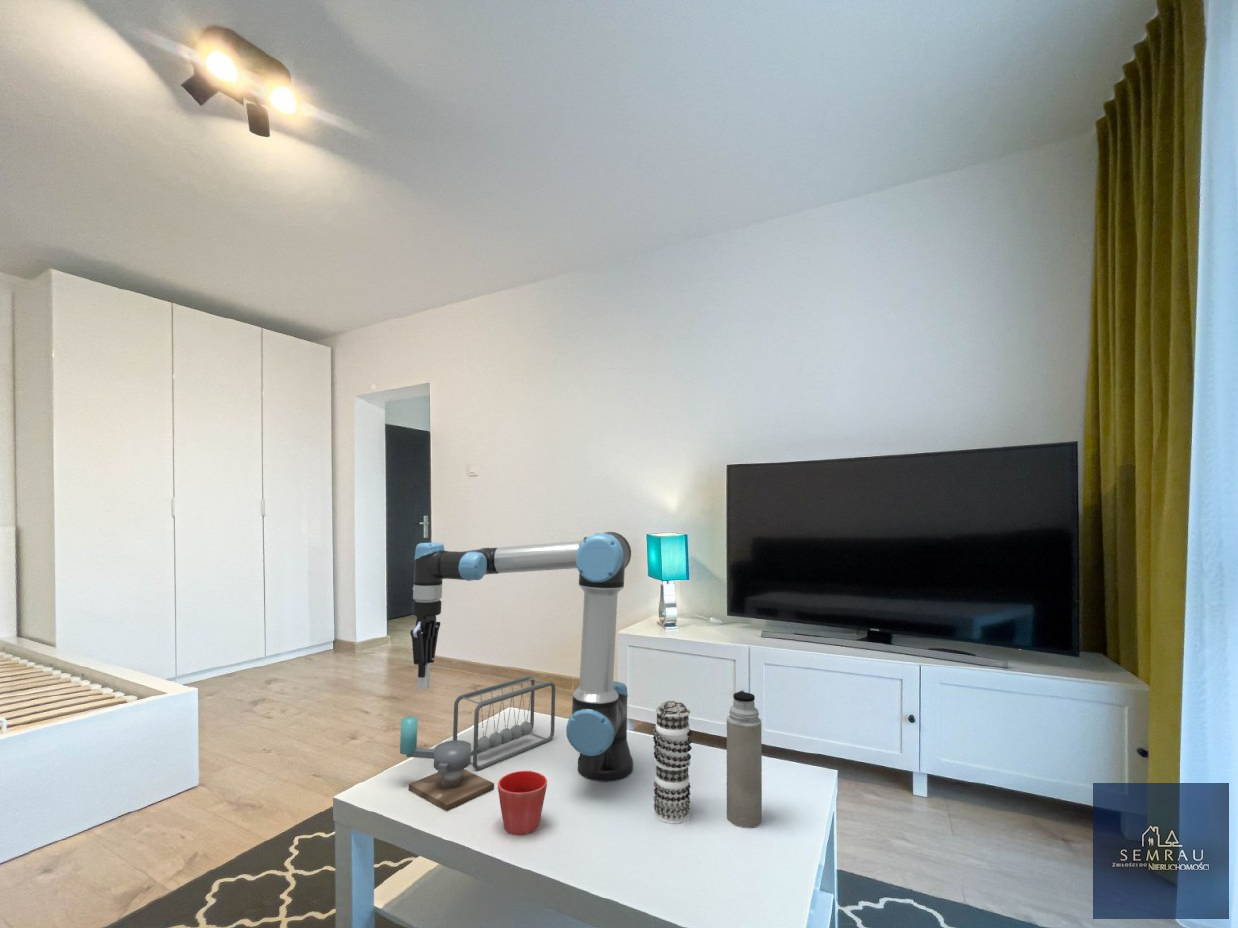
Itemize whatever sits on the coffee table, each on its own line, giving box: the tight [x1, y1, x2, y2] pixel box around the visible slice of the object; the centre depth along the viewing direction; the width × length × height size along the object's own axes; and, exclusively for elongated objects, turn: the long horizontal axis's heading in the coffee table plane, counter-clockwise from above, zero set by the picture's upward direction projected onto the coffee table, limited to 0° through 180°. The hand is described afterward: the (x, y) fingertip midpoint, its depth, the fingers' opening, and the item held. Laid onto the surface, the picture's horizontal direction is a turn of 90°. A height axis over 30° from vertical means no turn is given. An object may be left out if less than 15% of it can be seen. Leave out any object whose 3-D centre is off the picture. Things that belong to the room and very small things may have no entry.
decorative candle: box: [652, 700, 693, 825], centre depth 137 cm, size 9×9×25 cm
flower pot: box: [497, 770, 548, 836], centre depth 131 cm, size 11×11×10 cm
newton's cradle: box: [452, 675, 556, 771], centre depth 171 cm, size 30×10×18 cm, turn 140°
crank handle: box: [399, 715, 472, 773], centre depth 148 cm, size 18×12×10 cm, turn 82°
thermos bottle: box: [726, 691, 763, 828], centre depth 136 cm, size 8×8×28 cm
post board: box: [408, 768, 495, 812], centre depth 147 cm, size 16×14×6 cm
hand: (423, 688), depth 157 cm, fingers closed
